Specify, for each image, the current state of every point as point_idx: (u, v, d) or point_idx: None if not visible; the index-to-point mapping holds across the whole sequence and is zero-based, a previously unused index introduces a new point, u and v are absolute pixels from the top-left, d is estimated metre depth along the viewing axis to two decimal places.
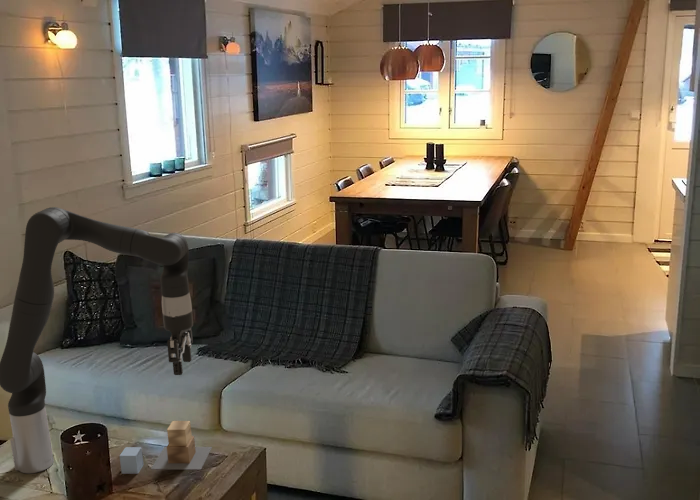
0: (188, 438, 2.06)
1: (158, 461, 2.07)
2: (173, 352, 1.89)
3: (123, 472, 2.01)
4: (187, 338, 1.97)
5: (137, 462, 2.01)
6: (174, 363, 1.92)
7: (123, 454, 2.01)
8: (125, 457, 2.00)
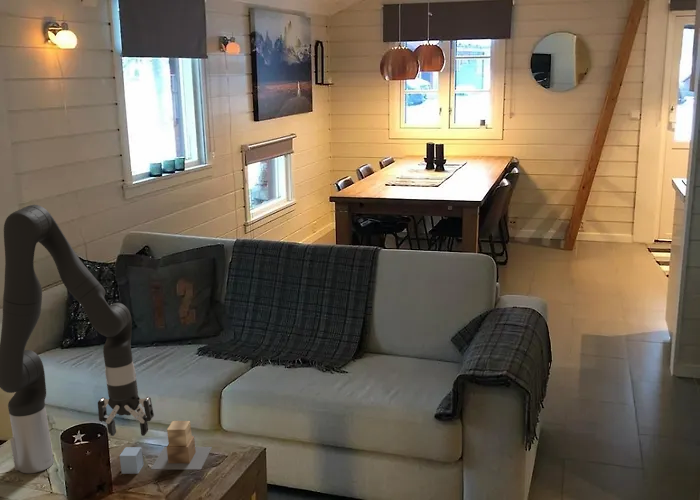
0: (188, 438, 2.06)
1: (158, 461, 2.07)
2: (151, 409, 1.98)
3: (123, 472, 2.01)
4: None
5: (137, 462, 2.01)
6: (145, 422, 1.99)
7: (123, 454, 2.01)
8: (125, 457, 2.00)
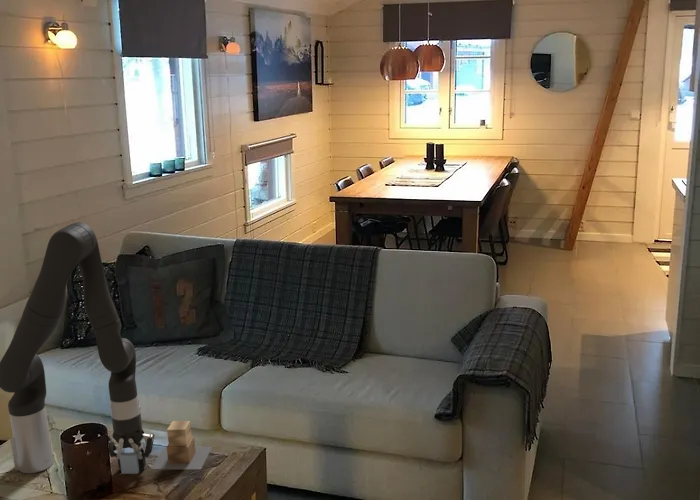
0: (188, 438, 2.06)
1: (158, 461, 2.07)
2: (151, 446, 2.01)
3: (123, 472, 2.01)
4: None
5: (137, 462, 2.01)
6: (143, 458, 2.02)
7: (123, 454, 2.01)
8: (125, 457, 2.00)
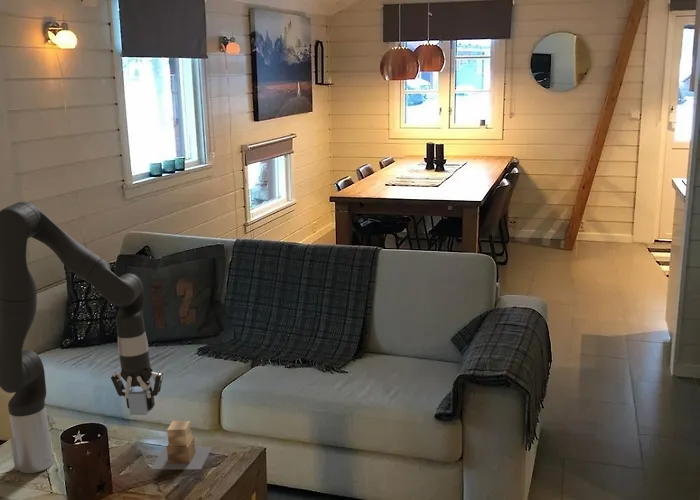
0: (188, 438, 2.06)
1: (158, 461, 2.07)
2: (160, 384, 1.98)
3: (131, 411, 1.98)
4: None
5: (145, 400, 1.97)
6: (152, 397, 1.98)
7: (131, 393, 1.97)
8: (133, 395, 1.97)
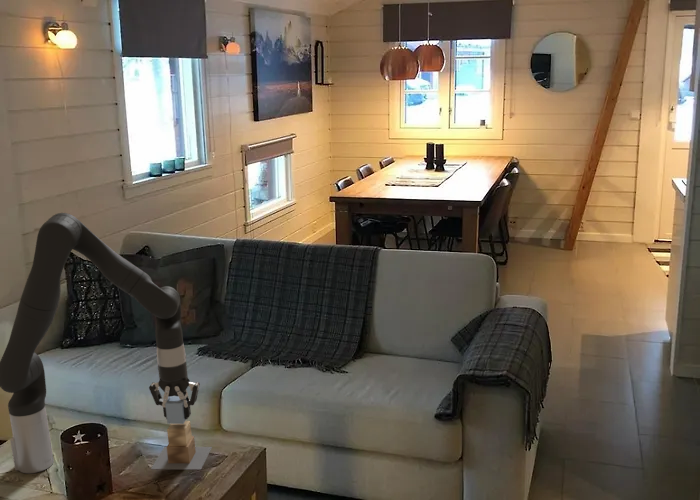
0: (188, 438, 2.06)
1: (158, 461, 2.07)
2: (197, 394, 2.03)
3: (168, 420, 2.03)
4: None
5: (182, 410, 2.02)
6: (189, 406, 2.04)
7: (169, 402, 2.02)
8: (171, 405, 2.02)
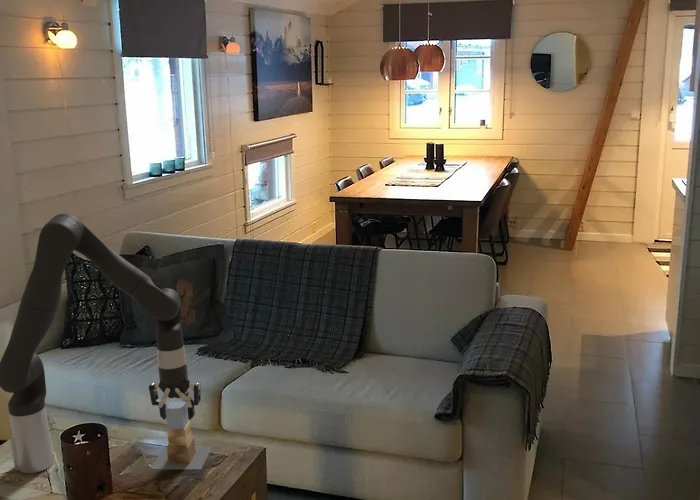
0: (188, 438, 2.06)
1: (158, 461, 2.07)
2: (199, 393, 2.03)
3: (169, 426, 2.03)
4: None
5: (183, 415, 2.03)
6: (193, 407, 2.04)
7: (169, 408, 2.03)
8: (171, 410, 2.02)
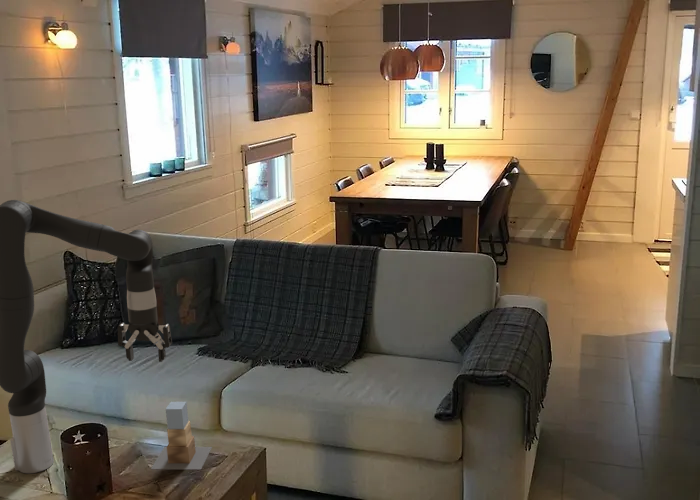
0: (188, 438, 2.06)
1: (158, 461, 2.07)
2: (169, 335, 2.02)
3: (169, 426, 2.03)
4: None
5: (183, 415, 2.03)
6: (164, 349, 2.03)
7: (169, 408, 2.03)
8: (171, 410, 2.02)
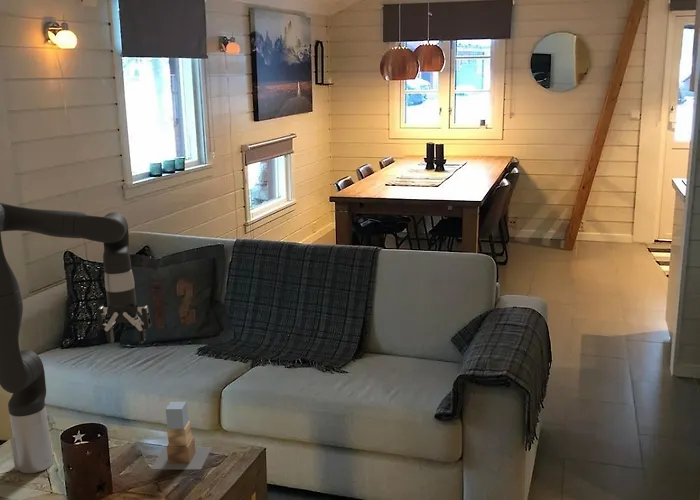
0: (188, 438, 2.06)
1: (158, 461, 2.07)
2: (148, 317, 2.04)
3: (169, 426, 2.03)
4: None
5: (183, 415, 2.03)
6: (143, 330, 2.04)
7: (169, 408, 2.03)
8: (171, 410, 2.02)
